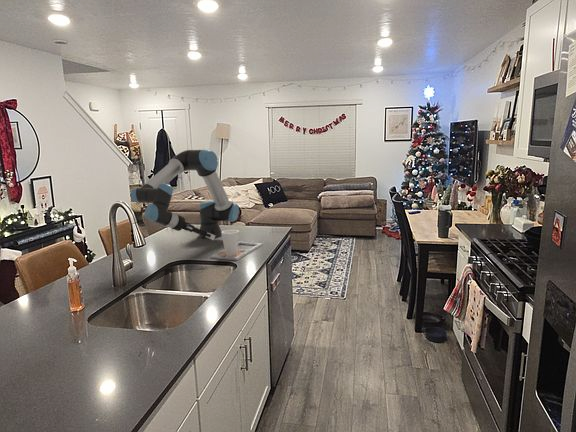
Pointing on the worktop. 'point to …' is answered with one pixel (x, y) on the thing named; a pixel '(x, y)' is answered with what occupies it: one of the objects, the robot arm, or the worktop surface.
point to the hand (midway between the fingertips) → (207, 235)
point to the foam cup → (230, 242)
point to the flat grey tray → (240, 252)
